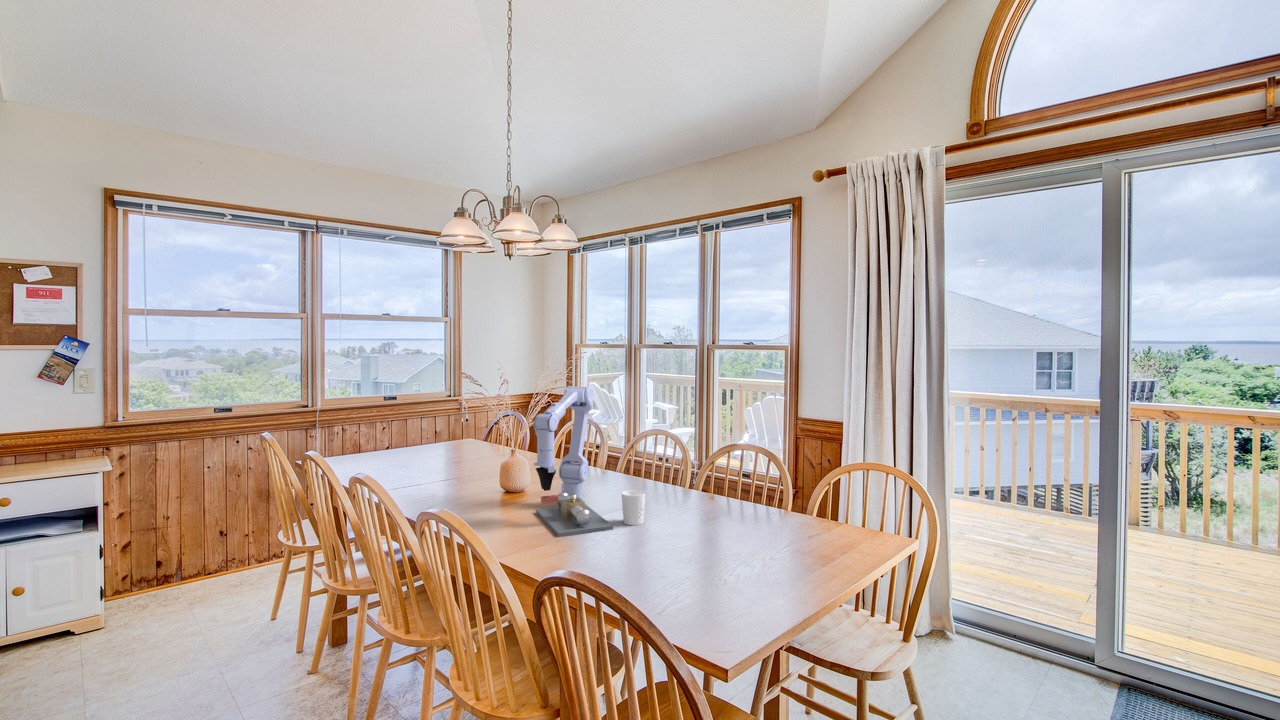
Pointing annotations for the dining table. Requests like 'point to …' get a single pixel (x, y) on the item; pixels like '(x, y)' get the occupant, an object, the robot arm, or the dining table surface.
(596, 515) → the mounting board
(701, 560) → the dining table surface
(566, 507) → the valve body
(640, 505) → the white cup
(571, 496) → the valve lever
